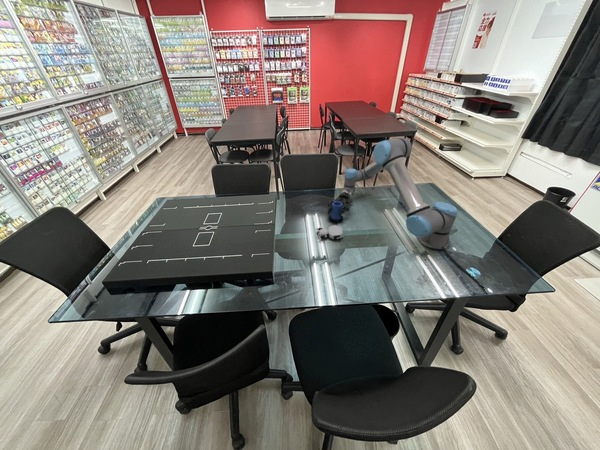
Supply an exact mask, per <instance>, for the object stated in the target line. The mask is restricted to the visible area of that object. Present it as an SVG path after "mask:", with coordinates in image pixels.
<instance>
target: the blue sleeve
mask: <svg viewBox="0 0 600 450" xmlns="http://www.w3.org/2000/svg"><path fill="white" fill-rule="evenodd" d="M342 208H343V204H342V202H339V201H335V202H333V203H332V211H331V213H330V215H331V218H332V219H334V220H340V219H341V216H339V213H340V211H341V209H342Z"/></svg>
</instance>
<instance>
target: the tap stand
mask: <svg viewBox="0 0 600 450" xmlns="http://www.w3.org/2000/svg"><path fill="white" fill-rule="evenodd" d="M328 221H329V222H330V223H331V224H334V225H338V224H339V225H340V224H342V223H343V222H344V216H343V215H341V219H340V220H334V219H332V218H331V214H329V216H328Z"/></svg>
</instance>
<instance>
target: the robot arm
mask: <svg viewBox="0 0 600 450" xmlns="http://www.w3.org/2000/svg"><path fill="white" fill-rule="evenodd" d="M412 150H413V145H412V142H411V141H410V140H409V139H408V138H405V137H398V138H392V139H384V140H382V141H379V142H378V143H376V144H375V146H374V148H373V152H372V158H373V162H371V163H370V164H368V165H367V166H365V167H364V168H363V169H362V168H361V169H355V168H347V169H345V173H344V181H343V182H344V183H343V189H342V191H340V193H339V195H338V197H336V198H335V197H332V198H331V200H329V201H328V203H327V208H328V209H327V210H328V211H327V215H331V213H332V203H333V202H335V201H339V202H342V204H343V205H342V209H341V211H340V213H339V216H341V215H342V214H345V213H346V212H349V211H350V208H351V207H352V206H353V200H351V199H352V197H353V195H354V194H355V192H356V183H358V182H361V181H366V180H370V179H372V178H374V176H375V175H377V174H378V173H380V172H381V171H388V173H389V175H390V178H391V180H392V182H393V184H394V186H395V189H396V190H397V192H398V195H399V196H400V198H401V200H402V202H403V204H404V207H405V208H406V214H405V215H406V220H405V227H406V229H407V231H408V233H410V234H411V235H412V236H415V237H417V238H418V241H419V243H420V244H421V245H422V246H424V247H426V248H428V249H430V250H435V251H444V253H445V254H446V256H447V257H448V258H449V259H450V260H451V261H452V262H453V263H454V264H455V265H456V266H457V267H458V268H459V269H461V270H462V272H464V273H465V274H466V275H468V276H469V277H470V278H472V279H473V281H475V282H476V283H477V284H478V285H479V286H480V287H481V285H480V284H479V282H480V281H479V280H478V279H477V278H476V279H477V280H478V281H479V282H478V281H477V280H476V279H474V278H473V277H474V276H473V275H472V274H471V273H470V272H468V271H467V270H466V269H465V268H464V267H463V266H462V265H461V264H460V263H458V262H457V261H456V260H455V258H453V256H451V254H450V253H449V252H448V250H447V249H448V248H449V246H450V232H451V231H452V229H453V225H454V223H455V220H456V219H457V217H458V213H459V210H458V208H456V206H454V205H452V204H451V203H447V202H442V201H436V202H434V203H433V205H432V207H431V206H430V204H427V203H425V201H424V200H423V197H422V196H421V193H420V191H419V190H418V188H417V185H416V184H415V182H414V180H413V178H412V176H411V174H410V172H409V170H408V167H407V166H406V163H405V161H406V159H407V158H408V157H410V155H411V154H412ZM342 216H343V215H342ZM471 275H472V276H473V277H472V276H471Z"/></svg>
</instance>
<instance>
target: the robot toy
mask: <svg viewBox="0 0 600 450" xmlns="http://www.w3.org/2000/svg"><path fill="white" fill-rule="evenodd" d="M315 231H317V232H316V236H317V237H318V238H317V240H318V241H323V240H325V239H326V238H330V239H332V240H339V239H342V238H344V235H343V234H344V230H343V228H342V227H341V226H340V223H339V224H334V225H330V226H329V227H328V228H323V227H316V228H315Z"/></svg>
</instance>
